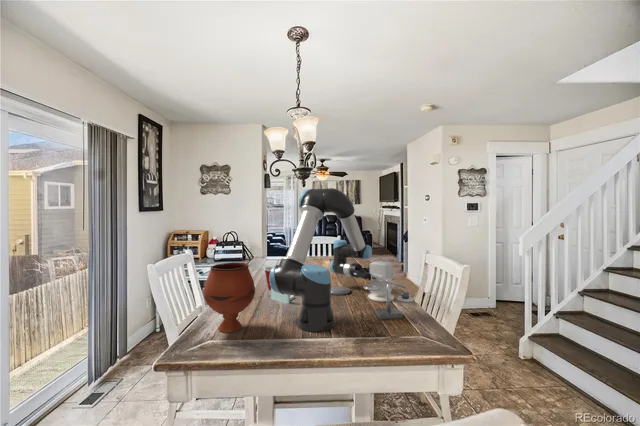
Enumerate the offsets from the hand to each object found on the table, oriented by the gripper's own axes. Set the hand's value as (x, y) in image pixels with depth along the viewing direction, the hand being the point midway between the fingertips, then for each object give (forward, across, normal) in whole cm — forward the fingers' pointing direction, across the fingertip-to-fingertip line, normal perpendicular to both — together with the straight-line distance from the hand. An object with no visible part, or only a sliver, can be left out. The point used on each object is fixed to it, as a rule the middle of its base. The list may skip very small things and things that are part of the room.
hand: (388, 276), depth 154 cm
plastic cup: (-59, +27, -12) cm, 66 cm away
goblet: (-26, +73, -12) cm, 79 cm away
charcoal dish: (-28, +6, -12) cm, 31 cm away
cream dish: (-4, 0, -12) cm, 13 cm away
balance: (+12, +19, -12) cm, 25 cm away
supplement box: (-4, 0, -9) cm, 10 cm away
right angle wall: (-39, +33, -13) cm, 53 cm away
